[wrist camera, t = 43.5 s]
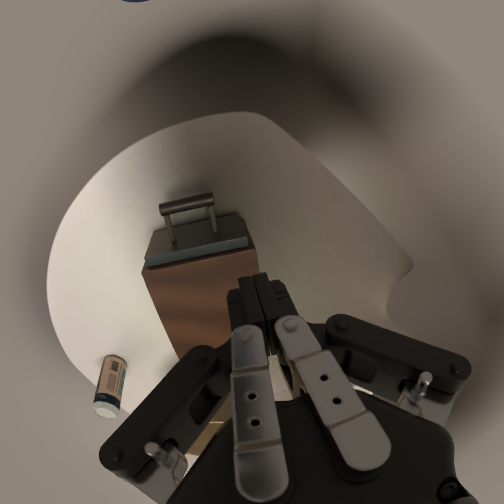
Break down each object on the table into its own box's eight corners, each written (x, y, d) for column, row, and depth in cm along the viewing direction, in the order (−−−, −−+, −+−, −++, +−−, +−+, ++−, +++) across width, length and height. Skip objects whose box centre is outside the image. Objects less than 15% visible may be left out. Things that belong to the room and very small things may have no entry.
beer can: (99, 357, 45) (86, 407, 35) (117, 352, 45) (107, 405, 35) (112, 372, 47) (103, 421, 37) (131, 368, 47) (124, 419, 37)
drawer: (143, 198, 33) (131, 218, 27) (232, 178, 34) (240, 194, 28) (180, 310, 42) (178, 344, 35) (252, 296, 43) (262, 328, 36)
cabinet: (152, 237, 37) (141, 272, 29) (243, 218, 38) (255, 249, 30) (181, 318, 44) (179, 360, 36) (257, 303, 45) (270, 343, 37)
